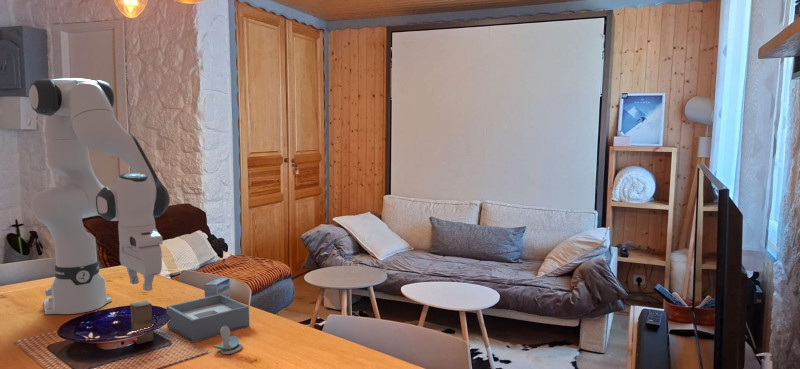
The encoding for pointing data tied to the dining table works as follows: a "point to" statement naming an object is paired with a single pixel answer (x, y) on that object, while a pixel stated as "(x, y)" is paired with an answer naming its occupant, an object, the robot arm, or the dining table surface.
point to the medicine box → (217, 287)
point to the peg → (142, 319)
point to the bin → (207, 317)
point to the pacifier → (227, 345)
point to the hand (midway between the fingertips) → (141, 286)
